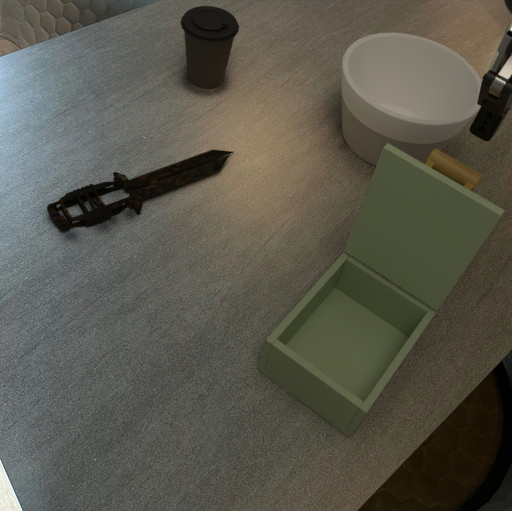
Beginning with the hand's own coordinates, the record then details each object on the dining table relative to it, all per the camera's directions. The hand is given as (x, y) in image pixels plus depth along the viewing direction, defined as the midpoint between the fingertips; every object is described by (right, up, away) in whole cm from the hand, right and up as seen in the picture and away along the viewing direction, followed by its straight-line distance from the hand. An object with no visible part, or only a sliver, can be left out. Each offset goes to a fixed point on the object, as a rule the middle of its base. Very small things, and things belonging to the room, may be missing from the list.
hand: (481, 133), depth 59 cm
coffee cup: (-29, +15, +34) cm, 47 cm away
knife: (-35, -3, +19) cm, 40 cm away
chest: (-12, -22, +8) cm, 27 cm away
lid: (-6, -10, +1) cm, 12 cm away
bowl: (-2, +5, +31) cm, 32 cm away
